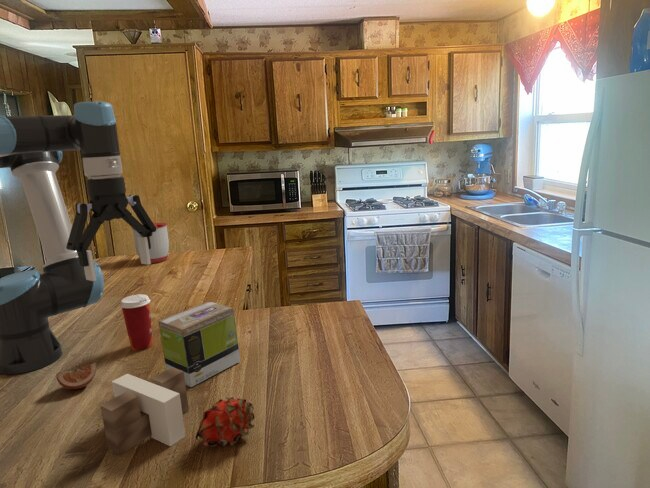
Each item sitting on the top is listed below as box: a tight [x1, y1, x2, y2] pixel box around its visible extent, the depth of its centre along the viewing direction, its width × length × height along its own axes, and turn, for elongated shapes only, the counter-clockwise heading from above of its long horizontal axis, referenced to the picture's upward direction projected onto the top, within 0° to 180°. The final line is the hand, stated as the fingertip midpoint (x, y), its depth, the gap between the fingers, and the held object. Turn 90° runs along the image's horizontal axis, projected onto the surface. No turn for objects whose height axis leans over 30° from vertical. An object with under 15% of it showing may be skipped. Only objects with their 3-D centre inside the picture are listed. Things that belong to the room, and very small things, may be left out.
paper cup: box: [119, 293, 154, 352], centre depth 128 cm, size 8×8×14 cm
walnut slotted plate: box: [99, 367, 190, 456], centre depth 91 cm, size 16×4×9 cm, turn 146°
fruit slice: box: [55, 362, 98, 390], centre depth 109 cm, size 8×7×5 cm
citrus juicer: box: [131, 221, 170, 265], centre depth 222 cm, size 16×17×20 cm
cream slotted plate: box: [111, 373, 186, 447], centre depth 91 cm, size 16×4×9 cm, turn 57°
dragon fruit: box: [195, 396, 255, 447], centre depth 87 cm, size 8×8×12 cm
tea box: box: [158, 300, 241, 388], centre depth 113 cm, size 15×10×15 cm
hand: (120, 271), depth 106 cm, fingers open, 13 cm apart
